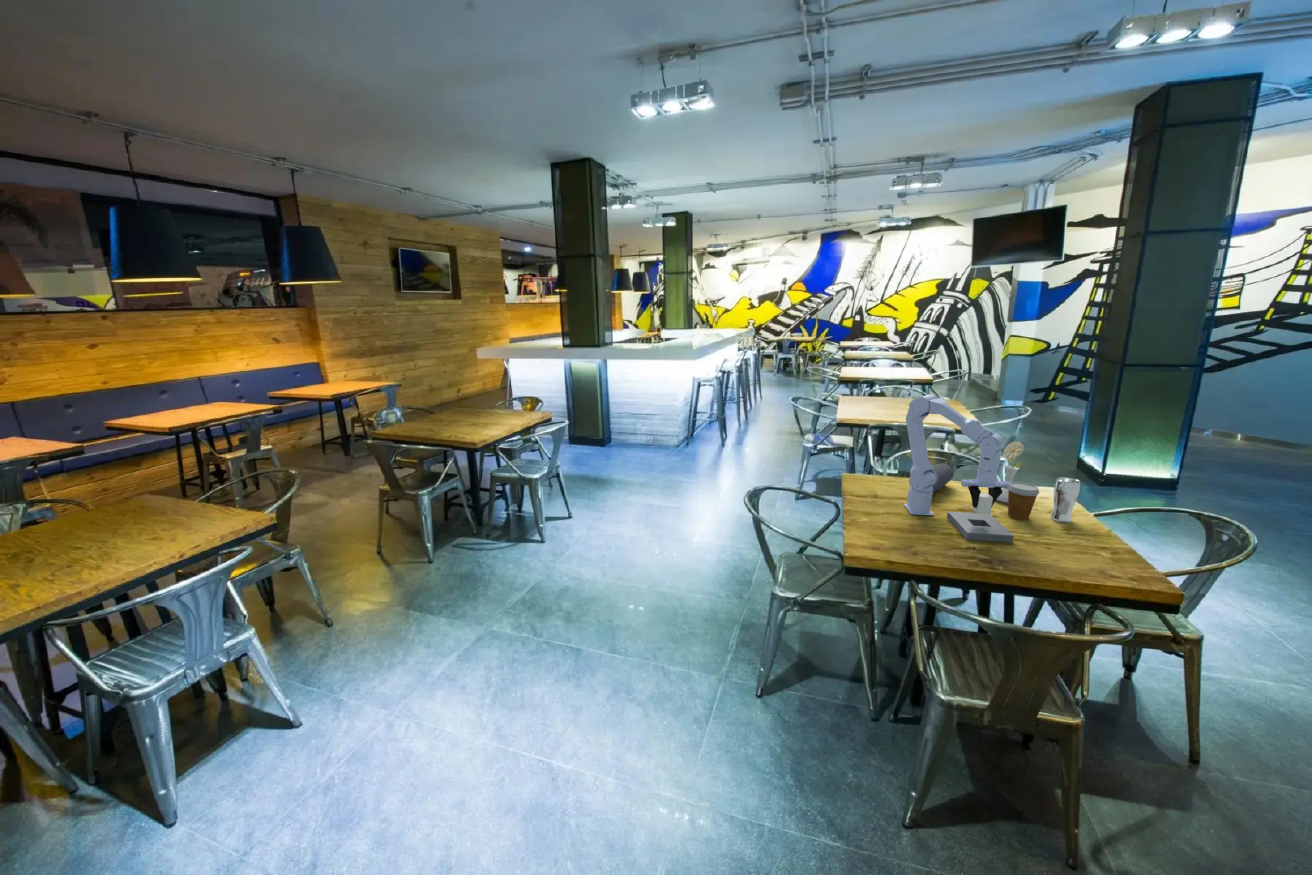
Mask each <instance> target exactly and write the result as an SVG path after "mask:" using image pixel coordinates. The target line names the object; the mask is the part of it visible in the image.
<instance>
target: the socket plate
mask: <svg viewBox="0 0 1312 875" xmlns="http://www.w3.org/2000/svg"><path fill="white" fill-rule="evenodd" d="M946 513H947V514H946V519H947V518H948V519H947V520H948V521H949V522H950V523H951V524H952V525H953V526H954V528H955V529H956V528H957V529H956V530H959V531H958V532H959V533H960V534H961V535H962V536H963V537H964V539H965V540H967V541H983V542H999V543H1010V544H1011V543H1014V539H1015V535H1014V534H1013V533H1012V532H1011V531H1010V530H1008V529H1007V528H1006V527H1005V526H1004V525H1003V524H1002V523H1000V522H999V520H997V519H996V518H995V517H994V516H993V515H992V514H991V513H990V514H977V513H976V512H963V511H961V512H960V511H947V512H946Z"/></svg>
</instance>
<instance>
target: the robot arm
mask: <svg viewBox="0 0 1312 875" xmlns="http://www.w3.org/2000/svg"><path fill="white" fill-rule="evenodd" d="M908 407H909V408H908V411H907V413H906V416H905V424H906V430H907V435H908V441H909V449H910V454H911V461H912V467H911V468H910V470H909V475H910V477H909V479H908V484H909V485H910V487H909V489H908V492H907V497H906V498H907V500H906V503H904V504H903V505H904V507H905V508H906V509H907V511H908V512H909V513H910V514H911V515H917V516H919V515H922V516H935V513H934V512H932V510H931V507H932V499H933V494H934V493H933V485H935V484H936V482H937V480H938V478H937V475H936V473H935V472H934V469H933V466H934V465H932V463H930V461H929V453H928V452H929V451H928V448H927V441H926V435H925V426H924V421H925V419H926V418H927V417H928V416H929V415H941V416H943V417H944V418H945V419H947V420H948V421H950V422H951V423H954V424H955V425H956V426H957V427H959V428H960V432H961V433H962V434H963V435H964V436H966V437H968V438H969V439H970V440H972V441H973V442H974V443H976V444H977V445H978V447H979V449H980V454H979V455H980V456H979V460H978V468H977V473H976V478H971V479H961V482H960V485H961V486H962V487H963V488H967V489H968V490H969V494H970V498H971V506H972V508H973V507H974V508H977V505H978V499H979V496H980V493H982V490H981V489H980V488H987V489H988V490H987V491H988V492H987V493H988V494H989V495H990V496H992V497H993V501H992V507H991V509H993V506H994V504H995V503H996V501H997V500H996V499H997V498H998V497H999V496H1000V495H1001V494H1002V492H1003V490H1001V488H1006V489H1010V486H1011V484H1010V483H1009V482H1005V481H1003V480H1002V481H1001V480H998V474H999V468H1000V463H1001V462H1000V461H1001V454H1002V450H1003V449H1004V448H1005V447H1006V443H1007V442H1006V439H1005V437H1004V436H1003V435H1002V434H1001V433H999V432H995V431H994V430H992V429H988V428H987V427H986V426H984V425H983V424H982V421H980V420H979V419H978V420H976V419H967V417H965V416H964V415H963V414H962V413H961V412H959V411H958V410H956V409H955V408H953V406H951V405H949V404H948V403H947V402H946V401H945V399H944V398H941V397H939V396H938V395H936V394H934V393H928V394H926V395H923V396H922V395H921V396H916V397H915V398H913V399H912V400H911V401H910V402H909V403H908ZM932 493H933V494H932Z"/></svg>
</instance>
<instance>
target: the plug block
mask: <svg viewBox="0 0 1312 875" xmlns="http://www.w3.org/2000/svg"><path fill="white" fill-rule="evenodd" d="M992 501H993V497H992V496H990V495H989V494H988V492H987V493H985V492H983V493H982V492H981V493H980V496H979V499H978V505H977V508H974V507H973V506H972V511H974V513H977V514H990V515H991V513H992V512H991V511H992V508H993V506H992ZM991 507H992V508H991Z"/></svg>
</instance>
